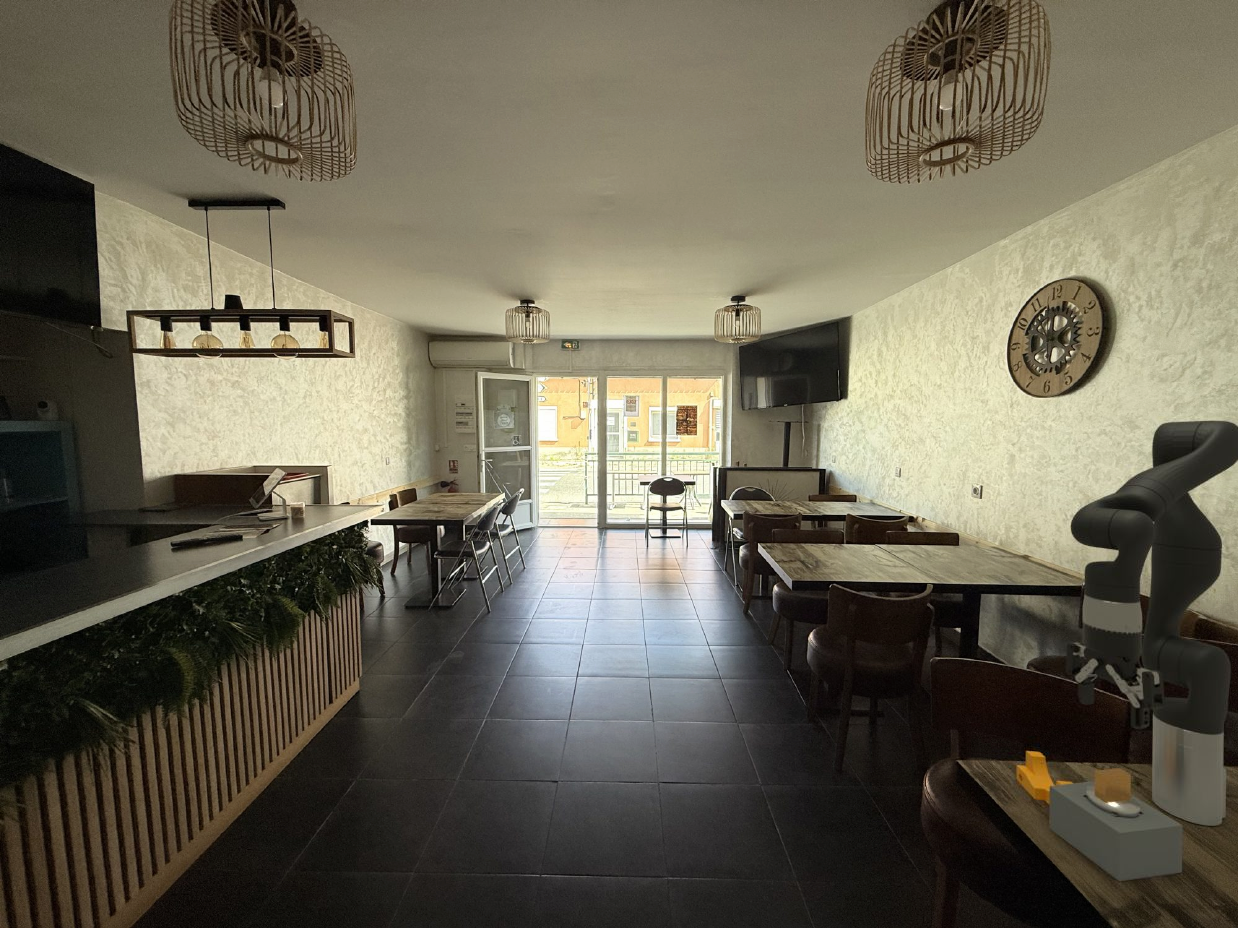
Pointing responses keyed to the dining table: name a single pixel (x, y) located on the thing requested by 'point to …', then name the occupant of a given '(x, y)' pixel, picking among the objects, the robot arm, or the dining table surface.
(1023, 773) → the pipe clamp
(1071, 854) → the dining table surface
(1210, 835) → the dining table surface
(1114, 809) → the end cover
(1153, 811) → the bearing housing
